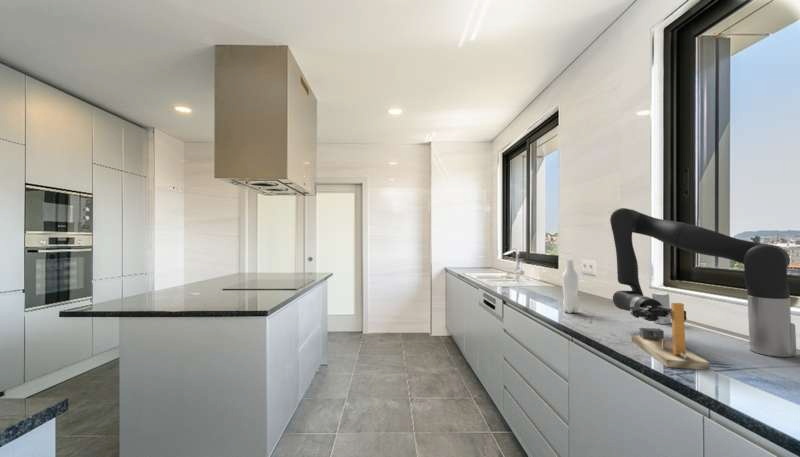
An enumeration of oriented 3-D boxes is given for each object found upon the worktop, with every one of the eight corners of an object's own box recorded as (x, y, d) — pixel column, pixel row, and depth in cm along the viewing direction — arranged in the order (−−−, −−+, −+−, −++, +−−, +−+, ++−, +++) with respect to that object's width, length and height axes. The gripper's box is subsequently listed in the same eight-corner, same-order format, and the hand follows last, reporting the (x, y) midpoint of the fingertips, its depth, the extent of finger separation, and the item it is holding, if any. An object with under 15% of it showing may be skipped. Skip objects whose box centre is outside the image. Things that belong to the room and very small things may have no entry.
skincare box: (665, 324, 148) (663, 294, 149) (652, 322, 152) (651, 293, 152) (671, 322, 152) (670, 293, 152) (659, 320, 155) (658, 292, 156)
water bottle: (559, 311, 177) (558, 260, 178) (571, 310, 180) (570, 259, 180) (570, 314, 171) (569, 261, 171) (582, 313, 173) (581, 260, 173)
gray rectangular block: (659, 337, 123) (659, 328, 123) (667, 342, 117) (667, 332, 118) (639, 336, 124) (639, 327, 124) (646, 341, 119) (646, 331, 119)
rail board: (664, 342, 124) (664, 336, 124) (709, 369, 98) (708, 362, 99) (631, 340, 126) (631, 335, 126) (667, 367, 101) (666, 359, 101)
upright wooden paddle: (678, 349, 109) (676, 300, 109) (695, 359, 100) (693, 306, 100) (662, 348, 110) (660, 299, 110) (678, 358, 101) (676, 305, 101)
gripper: (622, 296, 128) (640, 304, 112) (669, 297, 125) (694, 306, 109) (623, 317, 128) (641, 328, 112) (669, 319, 124) (695, 331, 109)
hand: (667, 317), depth 110 cm, fingers open, 8 cm apart
